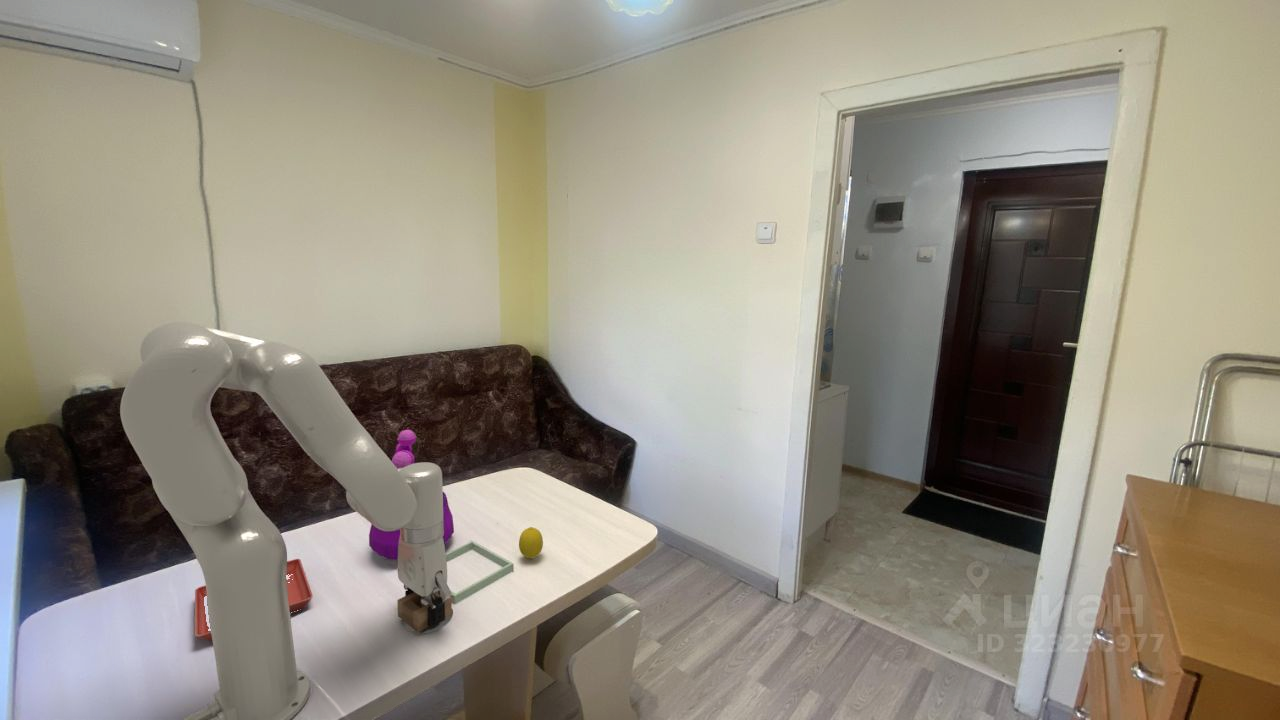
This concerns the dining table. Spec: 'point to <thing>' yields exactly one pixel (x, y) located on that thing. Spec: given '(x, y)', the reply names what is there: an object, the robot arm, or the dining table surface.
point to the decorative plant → (389, 540)
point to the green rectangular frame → (485, 581)
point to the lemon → (530, 542)
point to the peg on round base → (429, 629)
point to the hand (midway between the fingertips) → (425, 613)
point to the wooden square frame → (418, 610)
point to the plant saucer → (296, 592)
